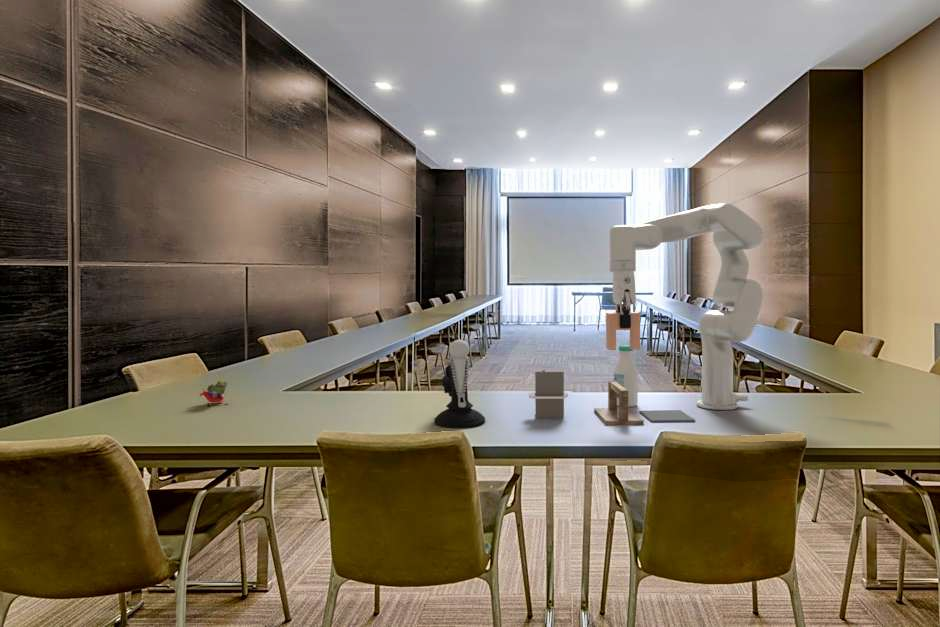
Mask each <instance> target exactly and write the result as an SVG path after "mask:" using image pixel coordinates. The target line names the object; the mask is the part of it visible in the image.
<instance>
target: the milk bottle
mask: <svg viewBox="0 0 940 627" xmlns="http://www.w3.org/2000/svg"><path fill="white" fill-rule="evenodd" d="M633 352H634V351H633V349H631V348H630V344H622V345H619V346H618V353H619V356H618V358H617V361H616V362H615V366H614V369H613V381H616V382H617V383H618V384H619V385H621V386H622V387H623V388H625V389H627V390H628V408H632V407H636V406H638V401H639V400H638V399H639V398H638V397H639V396H638V393H639V392H638V389H639V388H638V384H639V382H638V380H639V379H638V367H637V364H636V363H635V360H634V357H633ZM617 407H619V394H617Z"/></svg>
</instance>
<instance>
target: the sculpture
mask: <svg viewBox="0 0 940 627" xmlns="http://www.w3.org/2000/svg"><path fill="white" fill-rule="evenodd" d="M448 353H449V354H450V356H449V364H448V365H447V366H446V367H445V370H444V373H445V374H444V376H443V377H442V379H441V384H442V387H443V390H444V391H443V392H444V394H448V396H449V397H450V399H451V400H450V402H449V403H448V404H446V409H445V410H443V411H441V412H440V413H438V414H437V415H436V417H435V418H434V424H435V426H438V427H441V428H447V429H468V428H469V429H470V428H476V427H480V426H482V425H485V424H486V417H485V416H484V415H483V414H482V413H481V412H480V411H478V410H476V409H473V407H474V405H473V404H472V402H470V401H469V400H468V399H469V398H468V395H469V394H468V380H469V379H468V377H469V375H468V374H469V371H470V370H469V368H470V363H469V362H470V360H469V357H468V355H469V354H470V345H469V343H468V342H467V341H465V340H463V339H455V340H454V341H452V342H451V343H450V344H449V346H448Z"/></svg>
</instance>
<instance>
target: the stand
mask: <svg viewBox="0 0 940 627" xmlns="http://www.w3.org/2000/svg"><path fill="white" fill-rule="evenodd" d="M607 382H608V383H607V384H608V385H607V387H608V388H607V392H608V393H607V394H608V395H607V397H608V400H607V401H608V402H607V407H604V408H603V407H598V408H597V407H595V408H593V409H594V410H593V412H594V413H595V415H596V416H597V417H598V418H599V419H600V420H601V421H602V423H603V424H604V425H605V426H619V425H620V426H623V425H624V426H626V425H627V426H629V425H630V426H634V425H635V426H636V425H639V426H641V425H644V420H643V419H642V418H641V417H640V416H639V415H638V414H637V413H636V412H634V411H633V409H631V408H630V407H628V390H627V389H625V388H623V387H622V386H621V385H619V384H618V383H617V382H616V381H614V380H608V381H607ZM617 394H619V406H617Z"/></svg>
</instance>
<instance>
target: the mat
mask: <svg viewBox="0 0 940 627" xmlns="http://www.w3.org/2000/svg"><path fill="white" fill-rule="evenodd" d="M638 412H639V414H640V415H642V416H643V417H644V418H645V419H647V421H649V422H650V423H678V422H677V421H695V422H696V419H695V418H693V417H692V416H690V415H689V414H687V413H686V412H684V411H682V410H681V409H678V410H677V409H675V410H670V409H669V410H667V409H666V410H665V409H663V410H655V409H654V410H639V411H638Z"/></svg>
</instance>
